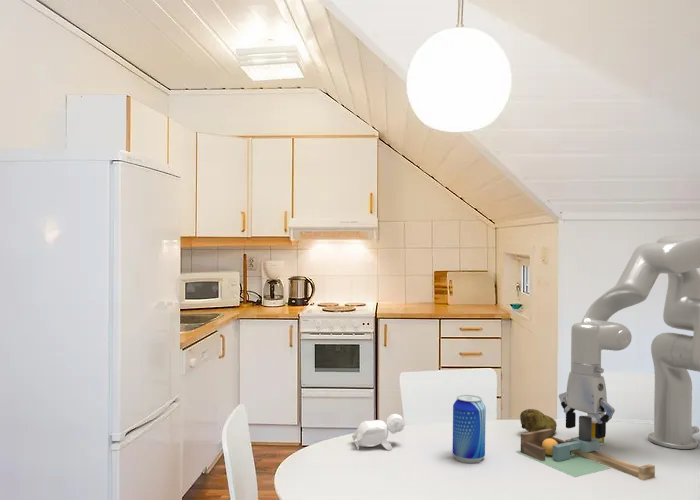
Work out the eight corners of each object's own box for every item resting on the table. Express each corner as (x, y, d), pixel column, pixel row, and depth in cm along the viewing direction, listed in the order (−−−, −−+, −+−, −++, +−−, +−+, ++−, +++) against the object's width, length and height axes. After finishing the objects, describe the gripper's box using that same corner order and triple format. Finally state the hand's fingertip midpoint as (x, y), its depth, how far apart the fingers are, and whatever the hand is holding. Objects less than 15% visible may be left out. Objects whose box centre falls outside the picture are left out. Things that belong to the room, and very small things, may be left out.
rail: (576, 448, 162) (576, 437, 162) (654, 477, 141) (654, 465, 141) (565, 450, 160) (565, 440, 160) (643, 481, 139) (643, 468, 139)
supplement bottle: (606, 446, 164) (606, 412, 164) (585, 445, 165) (586, 410, 165) (601, 440, 169) (602, 407, 169) (582, 439, 170) (582, 406, 170)
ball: (561, 438, 155) (563, 455, 154) (548, 436, 159) (551, 453, 158) (549, 440, 153) (551, 457, 152) (537, 438, 157) (539, 455, 156)
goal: (549, 446, 163) (549, 428, 163) (571, 454, 156) (571, 436, 156) (520, 452, 158) (520, 433, 158) (541, 461, 151) (542, 441, 151)
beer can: (490, 458, 153) (491, 397, 153) (474, 466, 147) (474, 403, 147) (463, 450, 159) (464, 392, 159) (446, 458, 153) (447, 397, 153)
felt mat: (549, 445, 164) (549, 444, 164) (610, 469, 147) (610, 468, 147) (515, 452, 158) (515, 451, 158) (574, 477, 141) (574, 477, 141)
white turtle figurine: (362, 462, 157) (413, 440, 159) (351, 434, 157) (402, 412, 159) (357, 452, 166) (405, 431, 168) (347, 424, 165) (395, 404, 167)
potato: (566, 438, 171) (567, 411, 171) (527, 441, 168) (527, 413, 168) (551, 429, 179) (551, 403, 179) (512, 432, 176) (513, 405, 176)
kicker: (583, 449, 160) (584, 413, 160) (599, 455, 156) (599, 418, 156) (547, 457, 154) (548, 420, 154) (562, 463, 149) (563, 425, 149)
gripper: (623, 374, 151) (622, 439, 151) (569, 362, 166) (569, 422, 166) (603, 376, 147) (603, 444, 147) (550, 364, 163) (550, 425, 163)
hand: (585, 432), depth 157 cm, fingers open, 9 cm apart
